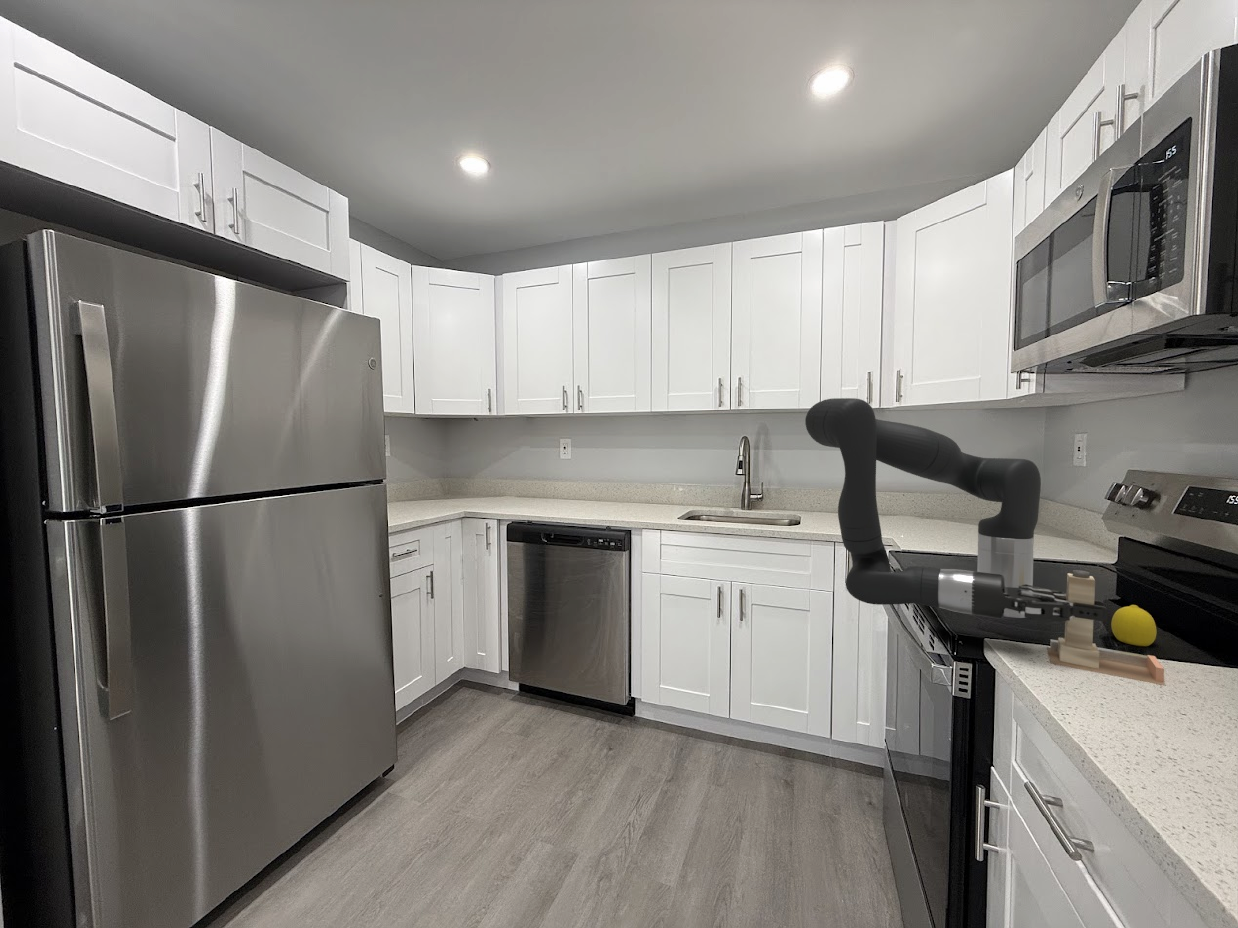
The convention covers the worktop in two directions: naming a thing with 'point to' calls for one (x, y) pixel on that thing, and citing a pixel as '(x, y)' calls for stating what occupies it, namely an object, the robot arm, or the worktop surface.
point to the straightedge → (1114, 655)
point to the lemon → (1134, 626)
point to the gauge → (1079, 624)
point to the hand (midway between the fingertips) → (1104, 611)
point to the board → (1110, 668)
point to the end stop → (1155, 668)
